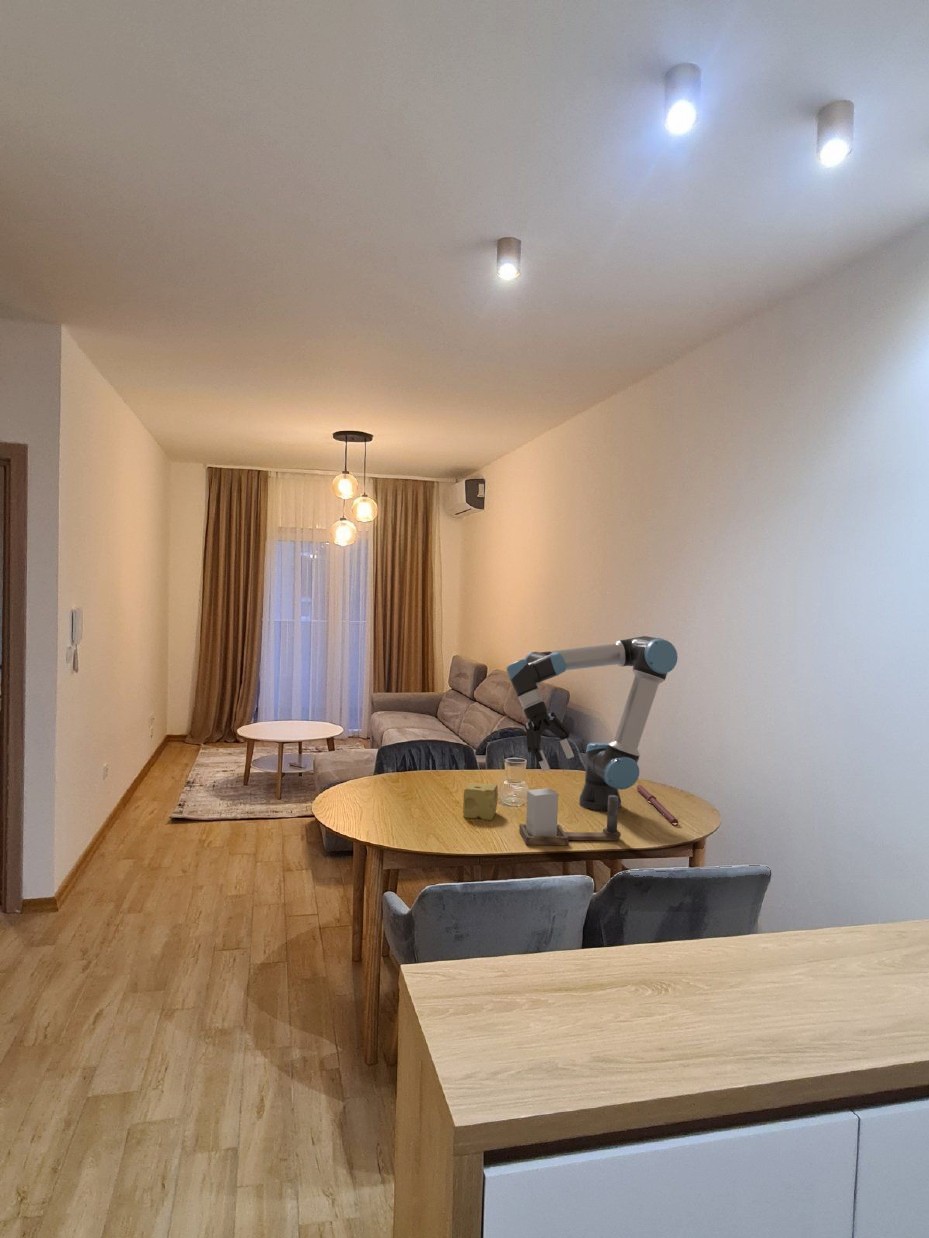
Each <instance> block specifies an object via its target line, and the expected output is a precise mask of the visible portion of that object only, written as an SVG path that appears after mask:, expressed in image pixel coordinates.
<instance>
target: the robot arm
mask: <svg viewBox="0 0 929 1238" xmlns="http://www.w3.org/2000/svg"><path fill="white" fill-rule="evenodd" d="M678 659H679V658H678V651H677V649H676V647H675V646H674V644H672V642H670V641H669V640H667V639H664V638H661V637H654V636H652V637H651V636H644V635H643V636H638V637H632V638H628V639H621V640H620V639H619V640H616V641H615V642H614V643H609V644H601V645H594V646H593V645H592V646H583V647H575V648H565V649H556V650H551V651H550V650H549V651H541V652H540V651H531V652H529V653H527V654H526V656H525V658H522V659H520V660H517V661H515V662H514V661H513V662H512V663H510V664H508V665H507V667H506V672H507V675H508V678H509V681H510V682H511V685H512V687H513V689H514V691H515V693H516V695H517V698H518V700H519V702H520V705H521V707H522V708H524V709H523V713H524V715H525V717H526V719H527V720H529V721H528V722H525V723H524V725H523V727H524V729H525V734H526V744H527V753H529V754H533V755H534V756H535V759H536V761H537V762H538V764H539V766H540V767H541V770H542V772H544V771H548V770H550V769H551V768H550V765H549V762H548V761H547V758H546V756H545V754H544V751H543V749H541V750H540V748H541V742H542V741H541V739H542V733H543V732H544V731H546V730H547V731H549V732H550V733H552V734H554V735H555V737H557V738H559V739H560V740H559V743H560V746H561V748H562V749H563V752H564V754H565V757H566V759H567V760H570V759H571V758H574V757H575V754H574V753H573V752H574V751H573V750H572V746H571V744H570V741H569V739H568V738H569V737H570V734H571V733H570V731H569V730H568V728H566V726H565V725H564V724H563V723H562V722H561V721H560V720H559V718H557V715H556V714H555V712H554V711H553V712H550V713H548V707H547V705H546V702H545V701H543V698H544V697H543V696H542V693H541V692H540V690H539V687H538V684H539V683H542V682H544V681H547V680H550V679H551V678H554V677H558V676H559V675H561V674H563V673H565V672H566V671H572V670H580V669H587V668H589V669H590V668H596V667H597V668H599V667H604V666H605V667H606V666H613V665H614V666H615V665H617V666H618V667H620V668H621V667H632V672H633V674H634V677H633V680H632V684H631V687H630V689H629V690H630V691H629V692H628V696H627V700H626V702H625V705H624V708H623V711H622V714H621V717H620V719H619V723H618V726H617V729H616V732H615V736H614V738H613V740H612V741H610V742H590V743H588V744H587V745H586V750H585V771H584V772H585V780H584V785H583V787H582V790H581V793H580V795H579V800H578V801H579V802H578V803H579V804H578V805H580V806H581V807H583V808H585V809H588V808H590V809H589V810H592V809H593V810H592V811H599V810H602V811H603V812H608V811H607V810H608V796H609V795H615V796H618V797H619V798H618V808H620V807H621V808H622V799H621V796H620V791H619V790H627V789H629V788H631V787H633V786H634V785H635V784H636V783H637V781H638V780H639V777H640V768H639V764H638V761H639V759H640V756H641V754H640V752H639V749H638V748H639V746H640V745H639V744H640V742H641V738H642V736H643V733H644V730H645V727H646V723H647V721H648V717H649V714H650V712H651V709H652V706H653V702H654V700H655V697H656V694H657V691H658V688H659V686H660V684H661V683H663V682H665V680H666V678H667V675H668V673H670V672H671V671H672V670H674V668H675V667H676V665H677V663H678ZM621 808H620V809H621ZM602 811H601V812H602Z"/></svg>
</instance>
